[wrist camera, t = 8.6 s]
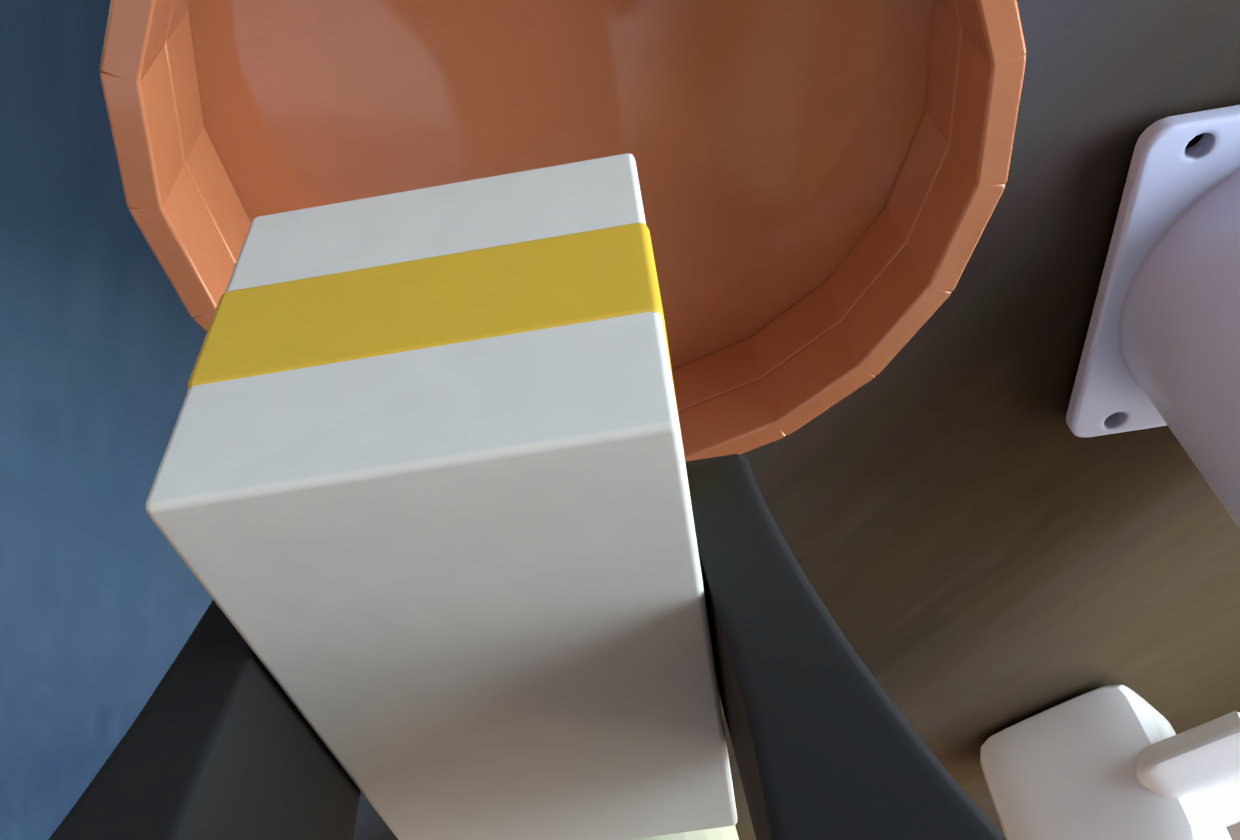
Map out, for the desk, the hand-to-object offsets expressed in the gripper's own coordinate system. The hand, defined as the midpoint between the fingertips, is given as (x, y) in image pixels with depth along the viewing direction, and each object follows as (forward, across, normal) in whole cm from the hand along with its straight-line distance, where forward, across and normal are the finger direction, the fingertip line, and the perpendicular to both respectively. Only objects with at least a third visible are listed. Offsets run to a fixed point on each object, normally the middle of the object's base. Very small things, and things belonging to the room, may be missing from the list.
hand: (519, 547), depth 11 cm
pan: (+9, -1, -1) cm, 9 cm away
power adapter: (+9, -16, +23) cm, 30 cm away
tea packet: (+2, 0, 0) cm, 2 cm away
